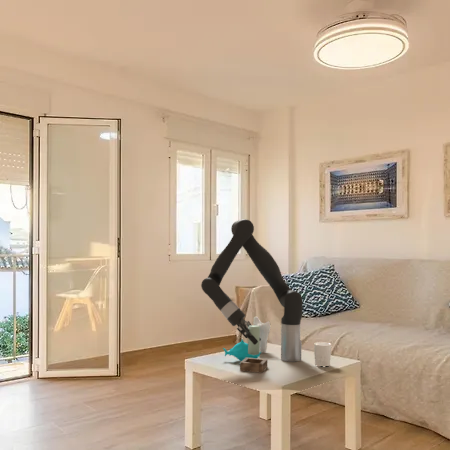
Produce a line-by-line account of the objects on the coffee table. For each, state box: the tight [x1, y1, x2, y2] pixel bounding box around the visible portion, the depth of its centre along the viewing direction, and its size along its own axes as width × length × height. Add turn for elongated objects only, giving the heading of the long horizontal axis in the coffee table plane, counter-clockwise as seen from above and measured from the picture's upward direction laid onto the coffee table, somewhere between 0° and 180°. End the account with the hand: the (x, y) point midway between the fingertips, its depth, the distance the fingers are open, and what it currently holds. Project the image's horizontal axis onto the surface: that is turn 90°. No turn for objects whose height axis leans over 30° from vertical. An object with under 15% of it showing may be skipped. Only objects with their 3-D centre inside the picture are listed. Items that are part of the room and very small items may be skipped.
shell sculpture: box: [252, 316, 271, 354], centre depth 247 cm, size 8×8×18 cm
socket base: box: [239, 357, 268, 373], centre depth 213 cm, size 10×10×4 cm
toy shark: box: [222, 338, 262, 362], centre depth 227 cm, size 10×18×11 cm, turn 88°
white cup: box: [313, 341, 332, 367], centre depth 221 cm, size 8×8×10 cm
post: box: [247, 324, 260, 355], centre depth 214 cm, size 5×5×12 cm
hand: (257, 342), depth 213 cm, fingers closed on post, 5 cm apart
